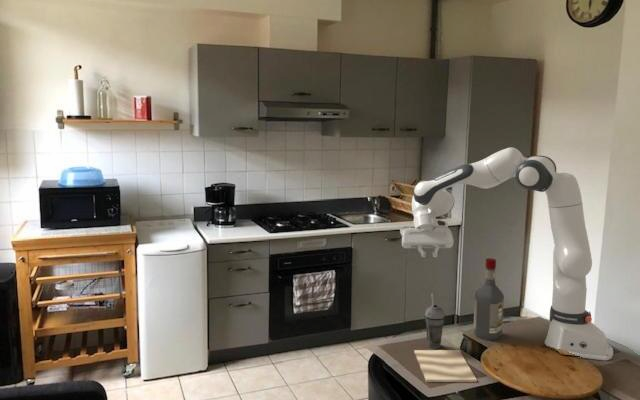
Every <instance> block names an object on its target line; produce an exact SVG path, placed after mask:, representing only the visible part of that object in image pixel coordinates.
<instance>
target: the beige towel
mask: <svg viewBox="0 0 640 400" xmlns="http://www.w3.org/2000/svg"><path fill="white" fill-rule="evenodd" d="M413 352H414V354H415V357H416V361H417V362H418V365H419V368H420V370H421V372H422V375H423V377H424V380H425V382H426V383H455V382H456V383H477V380H478V379H477V378H476V376H475V374H474V372H473V371H472V369H471V368H470V366H469V363H468V362H467V361H466V359H465V357H464V355H463V354H462V352H461V350H460V349H423V350H422V349H414V350H413Z"/></svg>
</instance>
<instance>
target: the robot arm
mask: <svg viewBox="0 0 640 400" xmlns="http://www.w3.org/2000/svg"><path fill="white" fill-rule="evenodd" d="M511 178H512V179H513V178H515V179H516V182H517V184H518V185H519V186H520V187H521V188H523V189H525V190H529V191H530V190H531V191H535V192H539V193H545V195H546V199H547V204H548V205H547V206H548V207H547V208H548V212H549V213H548V214H549V221H550V228H551V229H550V230H551V232H552V239H553V244H554V247H553V253H552V299H551V306H550V309H549V327H548V332H547V335H546V337H545V340H544V344H545V345H546V346H547V347H548V346H550V347H554V348H556V349H561V350H564V351H567V352H569V353H572V354H575V355H577V356H580V357H579V358H581V357H582V358H583V359H589V360H591V359H592V360H599V361H609V360H611V359H612V358H613V356H614V349H613V347H612V346H611V345H610V344H608V343H607V342H608V341H607V336H606V334H605V332H604V331H603V330H601V328H599V327H598V326H597V325H595V324H594V323H593V322H592V320H593V319H592V318H593V317H592V312H591V311H588V310H586V303H587V293H588V292H587V289H588V288H587V278H586V277H587V275H588V274H589V273H590V272H591V271H592V267H593V259H592V252H591V246H590V241H589V237H588V232H587V231H588V230H587V228H586V223H585V222H586V221H585V215H584V206H583V199H582V194H581V189H580V186H579V183H578V179H577V178H576V177H575V175H573V174H571V173H569V172H557V165H556V163H555V161H554V160H553V159H552V158H551V157H549V156H546V155H527V156H526V157H525V156H524V155H523V154H522V152H521V151H520V150H519V149H517V148H515V147H507V148H504V149H500V150H499V151H496V152H494V153H492V154H491V155H489V156H487V157H485V158H483V159H481V160H478V161H475V162H472V163H466V164H461V165H459V166H456V167H454V168H451V169H449V170H447V171H445V172H443V173H441V174H437V175H435V176H433V177H431V178H424V179H422V180H421V181H418V182H417V183H416V184H415V186H414V188H413V195H412V198H411V211H412V212H411V213H412V216H413V226H403V227H401V228H400V229H399V234H400V236H401V247H402V248H403V249H417V251H418V252H419V254H420V257H421V258H426V256H427V253H426V251H424V250H423V249H434V251H432V257H433V258H438V252H439V249H452V248H453V246H454V241H455V240H454V236H453V233H452V230H451V229H450V228H449V222H447V221H444V220H442V219H437V218H438V217H441V216H444V215H447V214H448V213H450V212H451V211H452V209H454V205H455V198H454V197H455V196H454V195H453V194H451V192H449V191H447V189H449V188H451V187H454V186H456V185H467V186H468V185H469V186H473V187H477V188H480V189H491V188H494V187H496V186H499V185H501V184H503V183H504V182H505V181H507V180H509V179H511Z"/></svg>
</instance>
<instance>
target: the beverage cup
mask: <svg viewBox="0 0 640 400" xmlns="http://www.w3.org/2000/svg"><path fill="white" fill-rule="evenodd" d="M434 303H435V302H434V294H433V293H431V305H429V306H428V307H427V308H426V310H425V313H424V320H425V328H426V343H427V347H428V348H430V349H431V350H439V349H440V348H441V343H442V335H443V330H444V322H445V318H446V315H445V311H444V309H443V308H442V307H441V306H440V305H437V304H434Z"/></svg>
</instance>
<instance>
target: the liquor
mask: <svg viewBox="0 0 640 400" xmlns="http://www.w3.org/2000/svg"><path fill="white" fill-rule="evenodd" d="M496 267H497V259H495V258H486V259H485V278H484V282H483V283H484V284H482V285H481V286H480V288H478V289H477V290H476V291H475V294H474V308H473V309H474V310H473V311H474V312H473V334H474V335H475V337H477V338H480V339H484V340H486V341H497V340H498V339H499V338H500V337H502V334H503V322H504V321H503V320H504V302H505V301H504V300H505V297H504V295H505V294H504V293H503V292H502V290H501V289H500V288H499V287H498V286H497V285H496V269H497V268H496Z"/></svg>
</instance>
